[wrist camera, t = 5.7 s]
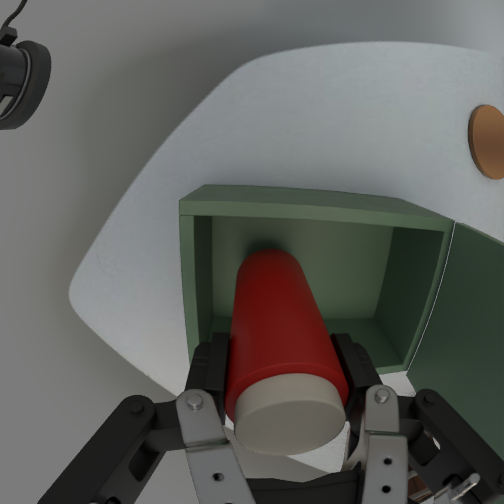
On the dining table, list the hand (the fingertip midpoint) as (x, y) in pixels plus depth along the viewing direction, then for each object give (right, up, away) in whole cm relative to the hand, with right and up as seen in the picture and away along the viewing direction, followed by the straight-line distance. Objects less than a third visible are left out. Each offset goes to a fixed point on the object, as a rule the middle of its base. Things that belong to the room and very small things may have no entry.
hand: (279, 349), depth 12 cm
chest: (+3, +4, +11) cm, 12 cm away
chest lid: (+11, -2, -5) cm, 12 cm away
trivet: (+24, +16, +7) cm, 30 cm away
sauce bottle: (0, +2, +7) cm, 7 cm away
